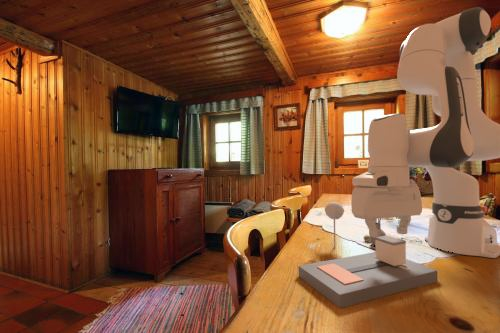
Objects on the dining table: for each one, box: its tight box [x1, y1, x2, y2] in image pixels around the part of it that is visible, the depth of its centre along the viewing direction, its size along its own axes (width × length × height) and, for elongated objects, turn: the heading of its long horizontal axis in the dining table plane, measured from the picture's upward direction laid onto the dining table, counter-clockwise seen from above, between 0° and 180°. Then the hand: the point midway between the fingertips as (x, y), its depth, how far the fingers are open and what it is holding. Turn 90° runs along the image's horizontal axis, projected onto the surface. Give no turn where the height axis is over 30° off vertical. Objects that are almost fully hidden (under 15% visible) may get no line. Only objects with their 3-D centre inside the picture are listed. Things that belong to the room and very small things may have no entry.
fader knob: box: [374, 235, 407, 266], centre depth 58 cm, size 4×5×5 cm
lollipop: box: [324, 201, 345, 248], centre depth 78 cm, size 6×6×15 cm
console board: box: [297, 251, 439, 309], centre depth 55 cm, size 28×14×3 cm, turn 111°
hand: (388, 235), depth 57 cm, fingers open, 8 cm apart
